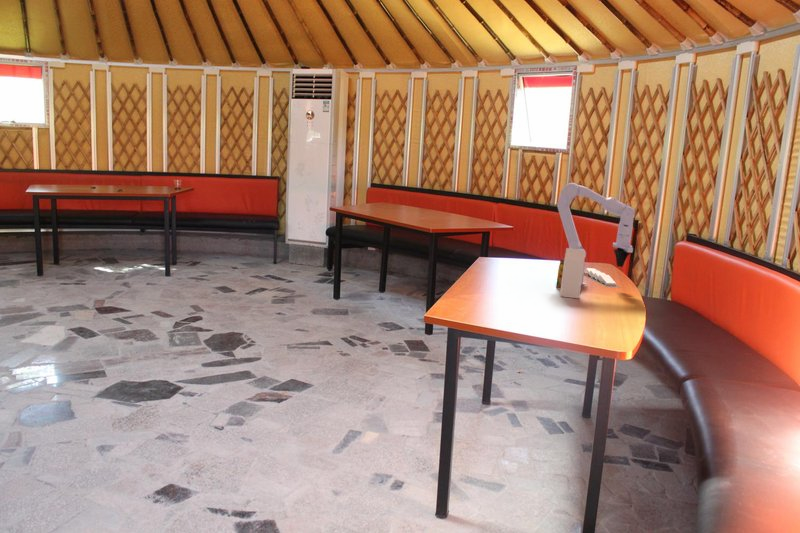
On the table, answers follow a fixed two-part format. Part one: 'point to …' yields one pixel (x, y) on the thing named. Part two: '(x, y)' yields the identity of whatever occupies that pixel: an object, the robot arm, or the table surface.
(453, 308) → the table surface
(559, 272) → the crayon box
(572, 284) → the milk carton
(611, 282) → the tile
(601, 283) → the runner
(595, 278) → the tile
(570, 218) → the robot arm
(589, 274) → the tile
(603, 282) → the tile
